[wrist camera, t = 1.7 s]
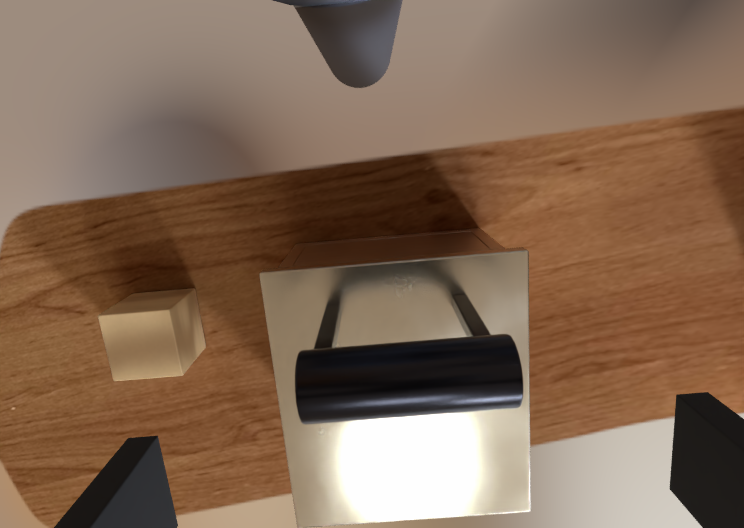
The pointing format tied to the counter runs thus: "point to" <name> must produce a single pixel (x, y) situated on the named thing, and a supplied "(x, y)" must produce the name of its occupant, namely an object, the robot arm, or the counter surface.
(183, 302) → the block
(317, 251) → the open box
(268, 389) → the counter surface
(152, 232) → the counter surface
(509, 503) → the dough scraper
